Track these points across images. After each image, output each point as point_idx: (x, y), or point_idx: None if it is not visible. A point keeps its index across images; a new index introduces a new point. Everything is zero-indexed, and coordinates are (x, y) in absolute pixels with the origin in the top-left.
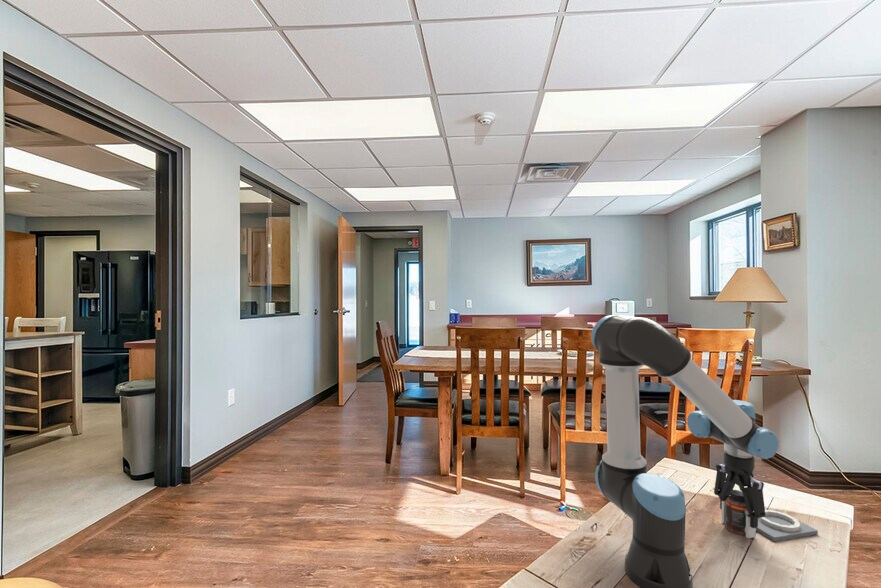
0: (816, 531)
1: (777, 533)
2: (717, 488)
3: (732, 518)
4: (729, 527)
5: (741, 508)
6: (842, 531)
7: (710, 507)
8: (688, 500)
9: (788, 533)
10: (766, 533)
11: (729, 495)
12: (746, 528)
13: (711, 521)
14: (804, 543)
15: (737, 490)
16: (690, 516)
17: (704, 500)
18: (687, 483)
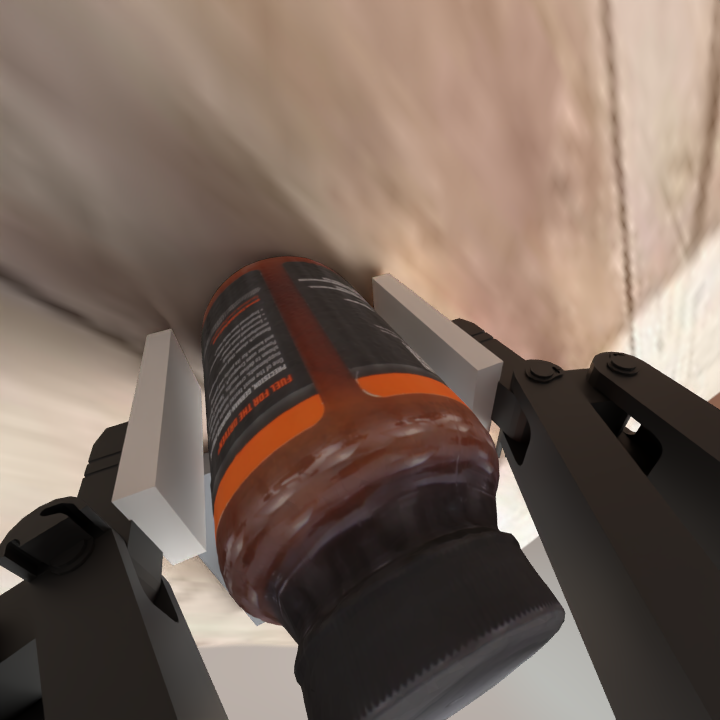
0: (253, 620)
1: (209, 517)
2: (682, 425)
3: (264, 317)
4: (276, 264)
5: (221, 508)
6: (279, 645)
7: (529, 312)
8: (629, 225)
9: (216, 555)
10: (208, 470)
11: (518, 478)
12: (157, 373)
13: (414, 199)
14: (165, 572)
15: (513, 669)
16: (520, 41)
17: (580, 321)
18: (683, 328)
